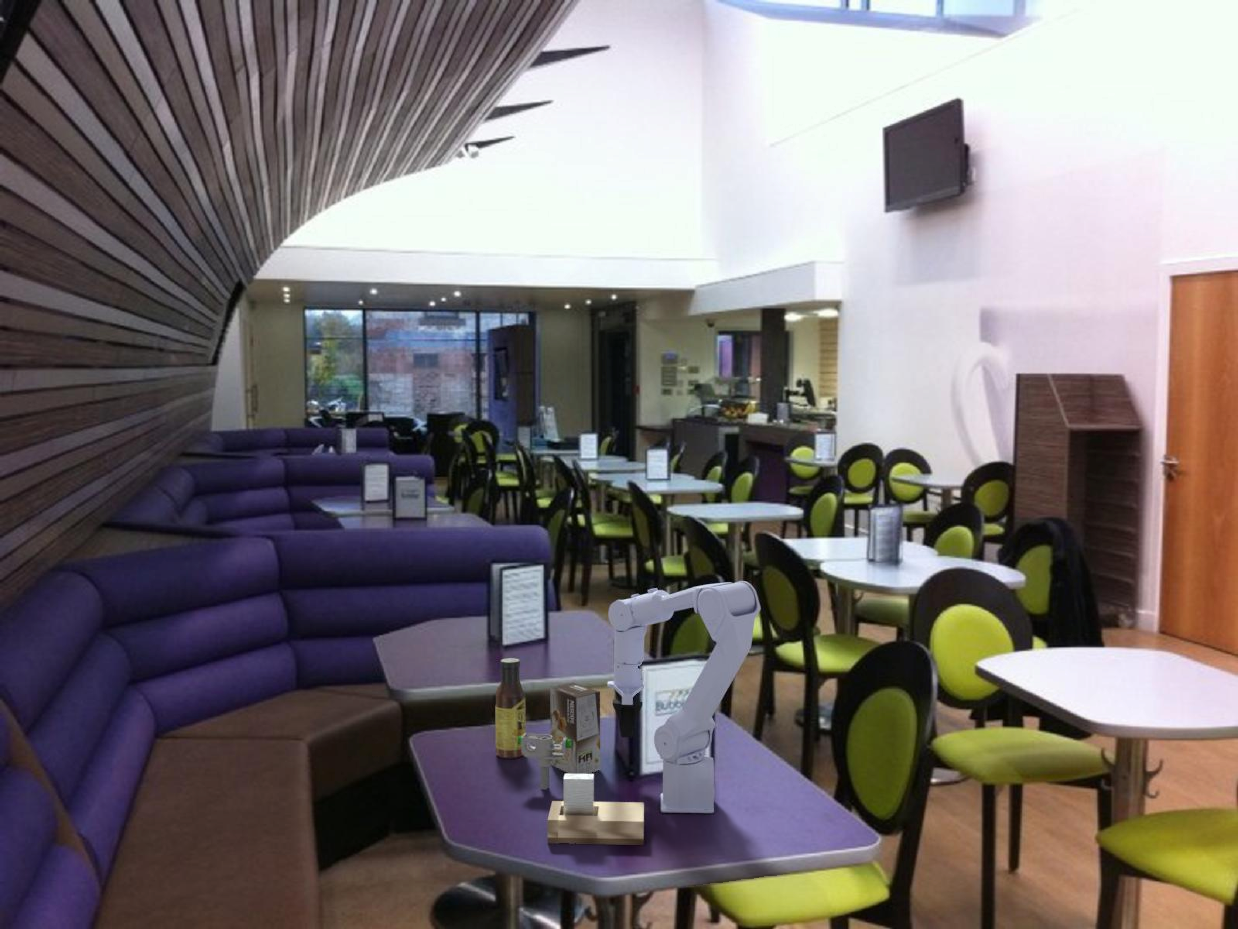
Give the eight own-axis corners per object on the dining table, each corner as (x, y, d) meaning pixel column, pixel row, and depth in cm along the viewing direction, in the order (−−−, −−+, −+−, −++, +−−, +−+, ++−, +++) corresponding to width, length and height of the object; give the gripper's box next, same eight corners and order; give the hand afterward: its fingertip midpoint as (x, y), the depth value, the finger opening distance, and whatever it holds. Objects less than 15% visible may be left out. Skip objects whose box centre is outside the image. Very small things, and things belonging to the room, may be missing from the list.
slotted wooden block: (643, 825, 180) (643, 802, 179) (643, 845, 172) (643, 821, 171) (552, 823, 180) (552, 801, 180) (547, 843, 172) (547, 820, 172)
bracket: (593, 825, 177) (593, 774, 176) (593, 831, 175) (593, 779, 174) (564, 824, 177) (564, 773, 177) (563, 830, 175) (563, 779, 174)
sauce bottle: (523, 760, 211) (523, 664, 210) (493, 760, 211) (493, 664, 210) (527, 749, 218) (526, 656, 216) (497, 749, 218) (497, 656, 216)
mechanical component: (568, 793, 194) (568, 741, 193) (516, 789, 196) (516, 737, 195) (572, 787, 197) (572, 736, 196) (521, 783, 199) (521, 732, 198)
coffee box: (602, 770, 206) (602, 691, 204) (576, 778, 201) (576, 697, 200) (573, 758, 213) (573, 681, 211) (548, 765, 208) (548, 687, 207)
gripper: (609, 650, 205) (608, 716, 206) (606, 670, 190) (604, 742, 191) (645, 651, 204) (643, 717, 205) (644, 672, 190) (642, 743, 191)
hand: (627, 730), depth 198 cm, fingers open, 7 cm apart
